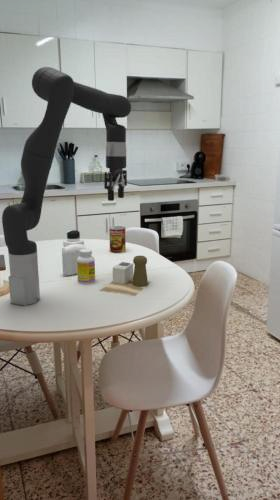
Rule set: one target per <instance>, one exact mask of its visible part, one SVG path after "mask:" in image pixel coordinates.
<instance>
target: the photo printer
mask: <svg viewBox="0 0 280 500" xmlns="http://www.w3.org/2000/svg"><path fill="white" fill-rule="evenodd" d="M82 249H87V247H86V245H85V244H84V245H81V244H72V245H68V246H66V247H64V248H62V249H61V257H62V260H61V261H62V275H63V276H65V277H67V276H74V275H78V269H77V259H78V257H79V256H80V253H79V251H80V250H82Z"/></svg>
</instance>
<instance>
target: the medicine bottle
mask: <svg viewBox="0 0 280 500" xmlns="http://www.w3.org/2000/svg"><path fill="white" fill-rule="evenodd" d="M80 236H81V234H80V231H79V230H77V229H73V230H72V229H71V230H68V231H67V232H66V240H64V241H62V245H63V248H64V247H66V246H68V245H72V244H81V245H85V241H84V240H83V239H81V237H80ZM63 248H62V249H63Z"/></svg>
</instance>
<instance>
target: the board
mask: <svg viewBox="0 0 280 500" xmlns="http://www.w3.org/2000/svg"><path fill="white" fill-rule="evenodd" d="M132 282H133V279H131V280H130V281H129V282H127V283H126V284H119V283H113V280H112V281H111V282H110V283H108V284H107V285H105V286H104V287H103V288H101V289H100V290H99V291H100V292H106V293H113V294H119V295H125V296H133V297H136V296H137V295H138V294H139V293H140V292H141V291H143V290H144V289H145V288H146V287H147V286H145V287H136V286H133V285H132ZM152 282H153V281H152V280H148V285H150V284H151V283H152Z"/></svg>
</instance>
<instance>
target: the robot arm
mask: <svg viewBox="0 0 280 500" xmlns="http://www.w3.org/2000/svg"><path fill="white" fill-rule="evenodd" d="M31 79H32V80H31V87H32V90H33V92H34V94H35V95H36V96H37V97H38V98H40V99H42V100H43V101H46V102H47V105H46V109H45V113H44V116H43V118H42V120H41V122H40V124H39V125H38V126H37V127H35V129H34V130H33V132H31V134H30V135H29V136H28V138H26V140H25V143H24V146H23V151H22V155H21V159H20V169H21V173H22V177H23V180H24V190H23V194H22V195H23V196H22V198H21V201H20V203H16V204H10V205H8V206H6V207H4V209H3V211H2V215H1V216H2V217H1V223H2V231H3V236H4V243H5V246H6V247H7V252H8V262H9V263H8V265H9V276H8V288H9V299H10V303H11V304H13V305H19V306H24V307H25V306H28V305H32V304H35V303H37V302H39V301H40V299H41V293H40V291H41V290H40V275H39V262H38V260H39V259H38V258H39V257H38V246H37V243H36V242H35V241H33V240H29V238H28V231H30V230H33V229H35V228H36V227H37V226H38V224H39V222H40V220H41V215H42V208H43V202H44V196H45V191H46V188H47V183H48V179H49V175H50V171H51V168H52V165H53V161H54V158H55V154H56V149H57V145H58V142H59V138H60V135H61V131H62V128H63V125H64V122H65V119H66V116H67V115H68V112H69V109H70V107H71V104H74V105H76V106H79V107H81V108H83V109H86V110H88V111H92V112H95V113H98V114H101V115H102V118H103V122H104V126H105V129H106V130H105V131H106V132H105V133H106V139H105V141H106V145H105V168H106V169H109V171H105V172H104V182H103V183H104V186H103V187H104V189H105V190H106V191H107V200H108V201H111V202H112V201H115V189H116V186H117V187H118V188H117V198H119V199H123V198H124V197H125V188H126V186H127V185H128V176H127V175H128V170H126V168H127V143H126V142H127V130H126V127H125V125H122V124H118V122H117V121H118V120H117V119H118V118H126V117H128V115H130V113H131V112H132V103H131V101H130V100H129V98H127V97H126V96H124V95H120V94H114V93H108V92H105V91H103V90H100V89H98V88H95V87H92V86H88V85H85V84H82V83H79V82H76V81H74V79H73V77H72V76H70V75H69V74H67V73H66V72H63V71H60V70H58V69H56V68H54V67H49V66H43V67H40V68H38V69H37V70H36V71H35V72H34V74H33V75H32V78H31Z"/></svg>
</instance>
